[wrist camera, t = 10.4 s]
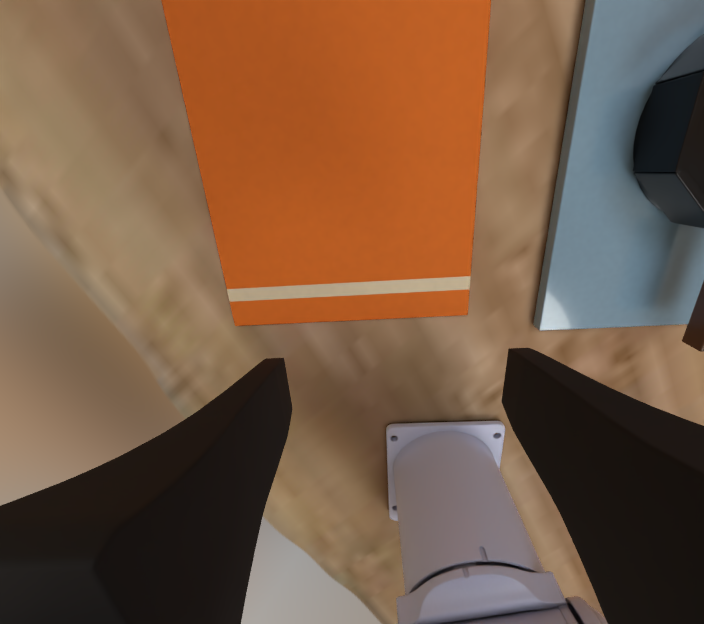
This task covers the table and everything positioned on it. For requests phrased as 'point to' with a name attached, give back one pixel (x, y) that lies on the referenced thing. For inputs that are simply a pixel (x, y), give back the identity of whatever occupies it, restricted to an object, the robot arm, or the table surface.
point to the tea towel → (337, 151)
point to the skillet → (676, 154)
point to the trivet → (618, 180)
